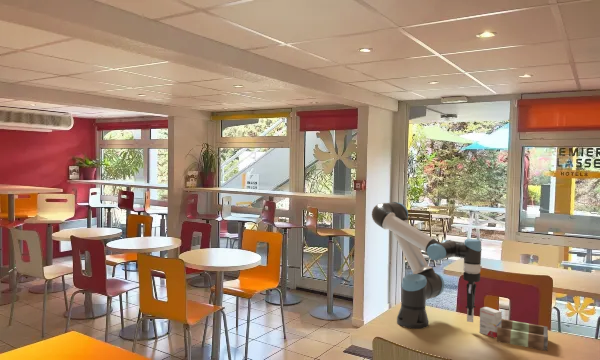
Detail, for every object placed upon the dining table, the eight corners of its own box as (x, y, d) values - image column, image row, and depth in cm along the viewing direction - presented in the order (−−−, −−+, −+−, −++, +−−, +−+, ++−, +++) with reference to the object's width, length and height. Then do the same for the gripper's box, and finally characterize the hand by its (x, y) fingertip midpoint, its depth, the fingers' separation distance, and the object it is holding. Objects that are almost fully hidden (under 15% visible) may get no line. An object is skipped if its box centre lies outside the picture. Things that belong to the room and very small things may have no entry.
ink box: (501, 336, 213) (503, 311, 213) (495, 338, 211) (496, 313, 210) (485, 330, 221) (486, 306, 220) (478, 332, 218) (479, 307, 218)
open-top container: (496, 341, 207) (497, 328, 207) (499, 331, 221) (499, 318, 221) (547, 350, 198) (547, 337, 198) (546, 339, 212) (547, 326, 211)
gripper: (478, 275, 211) (476, 326, 212) (481, 270, 223) (480, 318, 224) (461, 273, 215) (459, 323, 216) (465, 268, 226) (463, 316, 227)
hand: (470, 321), depth 220 cm, fingers closed
